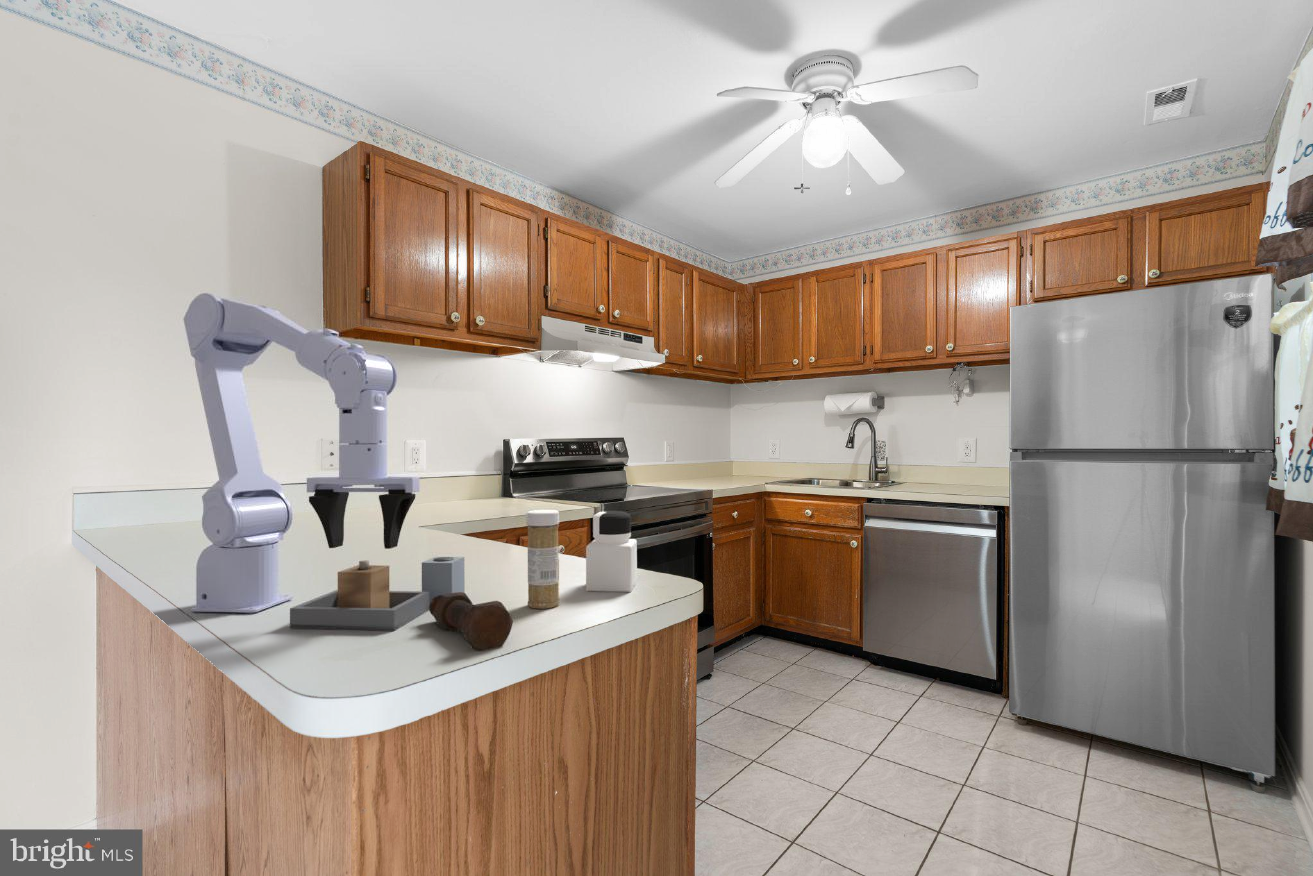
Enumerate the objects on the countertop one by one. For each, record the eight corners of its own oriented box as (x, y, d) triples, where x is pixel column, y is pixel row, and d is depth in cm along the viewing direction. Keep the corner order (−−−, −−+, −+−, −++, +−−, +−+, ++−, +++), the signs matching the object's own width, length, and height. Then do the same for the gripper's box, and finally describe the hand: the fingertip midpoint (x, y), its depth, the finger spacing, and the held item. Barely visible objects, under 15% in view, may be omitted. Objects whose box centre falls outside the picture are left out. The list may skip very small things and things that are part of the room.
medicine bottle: (637, 582, 102) (636, 509, 102) (631, 592, 94) (630, 514, 95) (594, 581, 102) (594, 509, 102) (585, 591, 95) (585, 514, 95)
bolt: (446, 633, 81) (497, 660, 69) (412, 620, 78) (459, 645, 66) (467, 591, 83) (520, 610, 71) (434, 577, 80) (484, 594, 69)
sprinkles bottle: (558, 600, 90) (558, 508, 90) (560, 608, 85) (560, 511, 85) (526, 602, 89) (526, 509, 89) (526, 610, 84) (526, 512, 84)
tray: (289, 628, 77) (289, 608, 77) (336, 607, 86) (336, 590, 86) (394, 630, 76) (394, 610, 76) (429, 609, 85) (429, 591, 85)
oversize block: (421, 604, 88) (421, 561, 88) (435, 596, 93) (435, 555, 93) (451, 604, 88) (451, 561, 88) (464, 597, 92) (464, 556, 92)
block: (337, 618, 79) (337, 564, 79) (358, 609, 84) (358, 557, 84) (370, 619, 79) (370, 564, 79) (389, 610, 83) (389, 558, 83)
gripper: (429, 443, 85) (430, 542, 84) (329, 444, 86) (329, 541, 86) (404, 444, 78) (404, 551, 77) (295, 444, 79) (295, 550, 79)
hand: (363, 547), depth 81 cm, fingers open, 7 cm apart
